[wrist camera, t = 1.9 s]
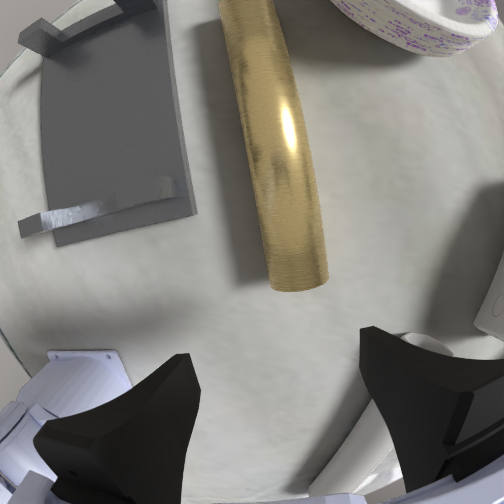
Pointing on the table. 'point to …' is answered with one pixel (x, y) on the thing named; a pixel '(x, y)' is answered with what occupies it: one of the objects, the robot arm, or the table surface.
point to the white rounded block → (493, 306)
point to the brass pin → (275, 145)
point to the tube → (365, 440)
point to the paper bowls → (425, 23)
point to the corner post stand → (109, 124)
